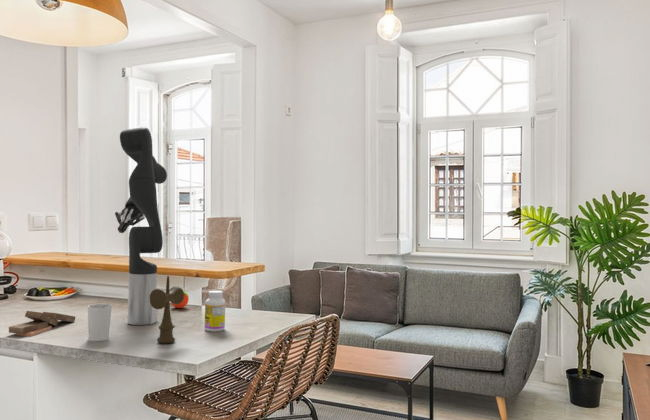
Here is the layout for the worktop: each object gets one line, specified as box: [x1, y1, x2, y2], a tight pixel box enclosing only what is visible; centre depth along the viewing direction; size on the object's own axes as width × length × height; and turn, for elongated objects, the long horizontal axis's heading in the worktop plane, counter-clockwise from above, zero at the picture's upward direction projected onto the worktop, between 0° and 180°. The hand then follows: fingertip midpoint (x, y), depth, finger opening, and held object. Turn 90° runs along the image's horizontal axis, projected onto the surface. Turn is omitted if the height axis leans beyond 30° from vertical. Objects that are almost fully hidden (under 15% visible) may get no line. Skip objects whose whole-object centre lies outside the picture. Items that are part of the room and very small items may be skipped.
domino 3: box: [15, 325, 52, 337], centre depth 171 cm, size 2×5×10 cm
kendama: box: [150, 275, 185, 345], centre depth 164 cm, size 6×10×20 cm, turn 157°
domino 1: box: [8, 320, 48, 334], centre depth 170 cm, size 2×5×10 cm
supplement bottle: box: [204, 290, 226, 333], centre depth 182 cm, size 7×7×13 cm
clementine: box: [170, 290, 190, 309], centre depth 217 cm, size 8×7×7 cm
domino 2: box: [24, 310, 60, 327], centre depth 176 cm, size 2×5×10 cm
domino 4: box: [42, 311, 76, 323], centre depth 183 cm, size 2×5×10 cm
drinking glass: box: [87, 303, 112, 342], centre depth 165 cm, size 7×7×10 cm
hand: (120, 231), depth 214 cm, fingers closed
